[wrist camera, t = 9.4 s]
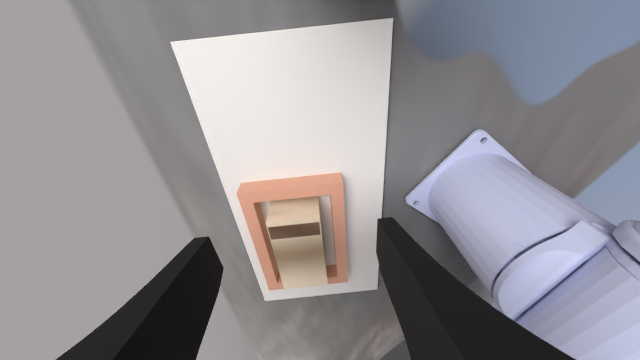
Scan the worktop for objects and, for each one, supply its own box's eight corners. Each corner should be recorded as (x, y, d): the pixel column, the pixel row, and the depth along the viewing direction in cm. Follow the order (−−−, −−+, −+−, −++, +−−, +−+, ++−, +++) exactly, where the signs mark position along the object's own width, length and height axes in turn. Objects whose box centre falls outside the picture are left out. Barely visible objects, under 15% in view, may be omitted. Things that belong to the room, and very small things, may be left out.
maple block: (325, 258, 24) (327, 285, 22) (286, 262, 24) (284, 290, 22) (317, 194, 20) (319, 218, 17) (270, 199, 20) (265, 224, 17)
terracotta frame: (241, 182, 19) (236, 193, 18) (340, 172, 19) (343, 182, 18) (270, 277, 25) (269, 290, 24) (345, 269, 25) (347, 282, 24)
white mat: (391, 18, 14) (393, 17, 14) (376, 286, 28) (377, 289, 27) (173, 41, 14) (170, 41, 14) (265, 297, 28) (265, 301, 27)
